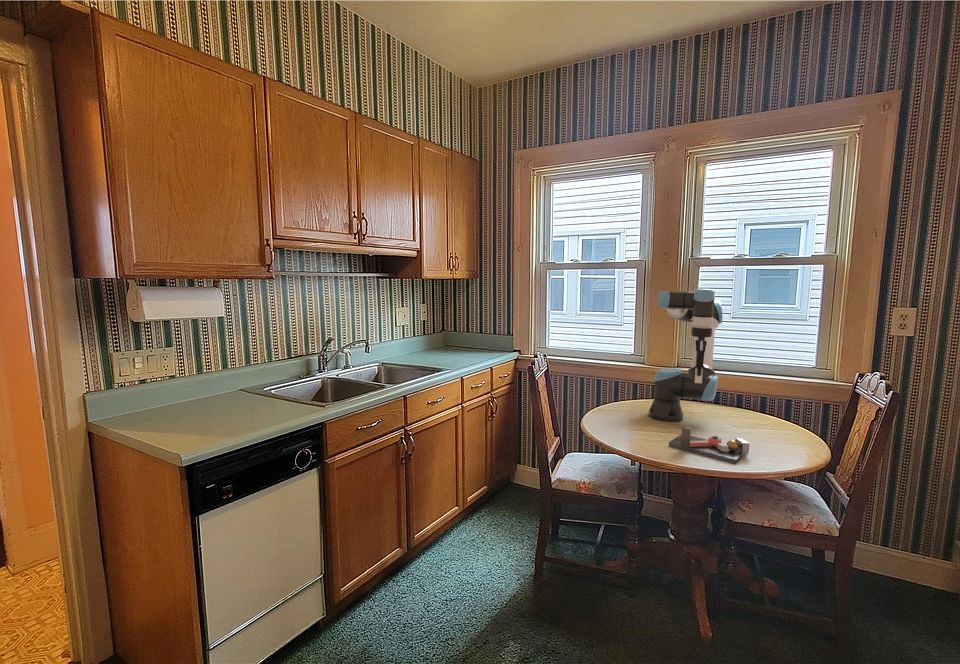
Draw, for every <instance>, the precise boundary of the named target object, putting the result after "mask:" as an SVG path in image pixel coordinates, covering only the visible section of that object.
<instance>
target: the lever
mask: <svg viewBox="0 0 960 664" xmlns="http://www.w3.org/2000/svg"><path fill="white" fill-rule="evenodd" d="M680 433H681V434H680V435H681V446H683V447H694V446H713V447H717V448H718V449H719V450H721V451H728V445H726V444H727V443H725V442H722V438H720V437H719V436H717V435H712V436H709V437H708V440H703V441H690V435H691V436H692V428H691V427H689V426H682V427H681V432H680Z"/></svg>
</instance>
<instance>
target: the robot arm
mask: <svg viewBox="0 0 960 664" xmlns="http://www.w3.org/2000/svg"><path fill="white" fill-rule="evenodd" d="M715 294H716V293H715V289H713V288H696V289H694V291H669V290H666V291H660V292H658V296H657V307H658V308H659V309H665V310H666V311H667V315H669V316H670V317H671V318H673V319H675V320H677V321H680V322H684V323H685V322H686V323H692V327H691V336H692V337H694V341H693V350H692V361H691V367H689V368H688V369H687V372H683V369H681V368H677V367H676V368H675V367H674V368H673V367H668V368H660V369H658V370H656V372H655V374H654V387H653V389H654V390H653V391H654V392H653V400H652V402H651V405H650V408H649V410H648V416H649V417H650V418H651V419H654V420H657V421H661V422H665V423H666V422H668V423H676V422H677V423H678V422H682V421H683V420H684V412H683V408H682V405H681V398H683V399H691V400H699V401H709V402H711V401H714V400H715V398H716V394H717V388H718V385H719V384H718V383H719V378H720V377H719V376H718V375H716V372H715V370H714V369H713V361H714V347H715V346H714V345H715V336H716V335H715V334H716V332H715V331H716V329H717V328H719V326H720V324H722V323H723V305H722V302H721V301H720V300H718V299H716V295H715Z"/></svg>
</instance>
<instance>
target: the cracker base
mask: <svg viewBox="0 0 960 664" xmlns="http://www.w3.org/2000/svg"><path fill="white" fill-rule="evenodd" d="M703 440H709V438H708V439H707V438H703V437H699V436H695V435H692V434H691V435H690V441H703ZM725 444H726V445H728V451H721V450H719V449H718V448H717V447H713V446H694V447H683V446H681V434H679V435H678V436H676V437H674V438H672V439H671V440H670V441H669V442H668V446H669V447H671V448H674V449H679V450H682V451H686V452H690V453H693V454H697V455H700V456H704V457H708V458H712V459H715V460H719V461H723V462H726V463H730V464H733V465H737V464H738V462H739V461H741V460H742V458H744V457H745V456H746V455H747V454H749V451H750V442H749V441H747V440H745V439H743V437H740V438H739V437H736V438H735V439H734V440H733V439H731V440H728V441H727V442H726V443H725Z"/></svg>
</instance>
